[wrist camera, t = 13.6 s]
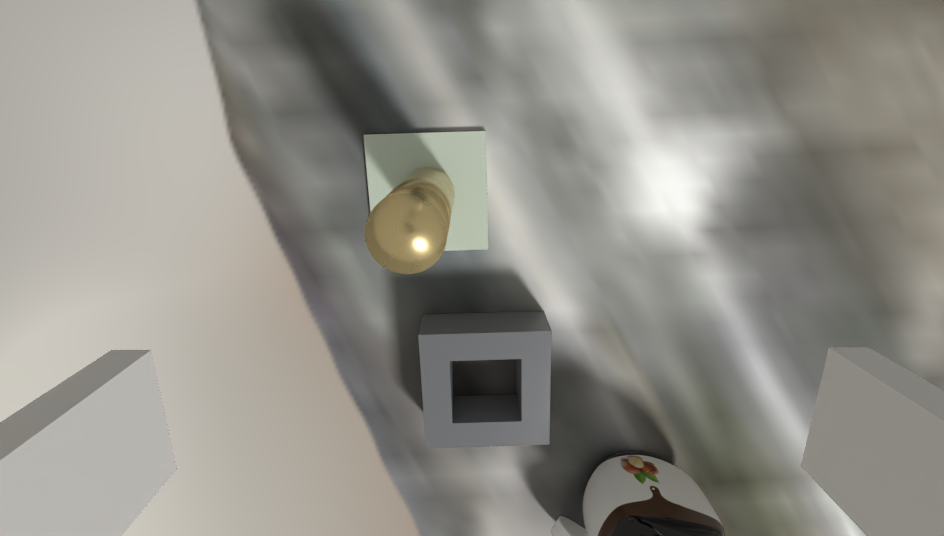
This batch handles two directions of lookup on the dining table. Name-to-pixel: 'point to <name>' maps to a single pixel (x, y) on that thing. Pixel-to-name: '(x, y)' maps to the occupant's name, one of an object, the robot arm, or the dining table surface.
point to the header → (486, 414)
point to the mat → (448, 153)
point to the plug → (412, 222)
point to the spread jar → (641, 501)
